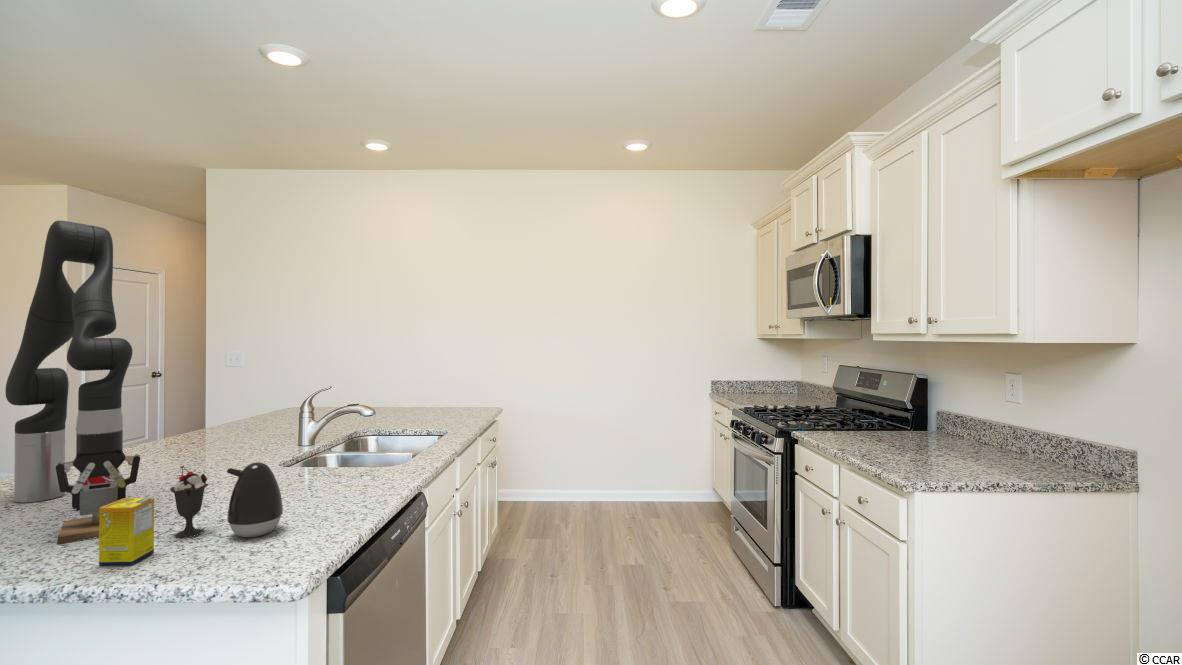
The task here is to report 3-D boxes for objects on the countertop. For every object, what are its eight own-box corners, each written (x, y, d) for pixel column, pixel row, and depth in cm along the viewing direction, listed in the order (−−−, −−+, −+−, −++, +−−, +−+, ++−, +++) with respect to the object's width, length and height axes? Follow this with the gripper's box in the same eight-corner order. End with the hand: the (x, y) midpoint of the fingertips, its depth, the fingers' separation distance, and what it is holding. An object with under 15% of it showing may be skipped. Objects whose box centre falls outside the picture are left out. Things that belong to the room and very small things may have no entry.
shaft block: (63, 527, 120) (64, 489, 120) (135, 516, 127) (135, 480, 127) (57, 544, 111) (57, 502, 111) (134, 531, 118) (135, 491, 118)
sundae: (166, 541, 112) (167, 468, 112) (173, 531, 118) (174, 461, 118) (205, 536, 116) (205, 465, 116) (210, 526, 121) (210, 458, 121)
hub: (81, 508, 119) (82, 485, 119) (118, 503, 123) (118, 481, 123) (79, 515, 115) (79, 492, 115) (117, 510, 119) (117, 487, 119)
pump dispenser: (232, 528, 121) (232, 459, 121) (285, 522, 124) (286, 455, 124) (220, 545, 111) (220, 470, 111) (278, 538, 115) (279, 466, 115)
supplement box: (122, 553, 106) (122, 497, 106) (154, 553, 107) (155, 497, 107) (97, 567, 100) (97, 507, 100) (132, 566, 101) (132, 506, 101)
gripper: (142, 424, 127) (142, 496, 127) (56, 430, 117) (55, 509, 117) (142, 428, 121) (142, 504, 121) (51, 436, 112) (51, 518, 112)
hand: (99, 506), depth 119 cm, fingers closed on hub, 6 cm apart
